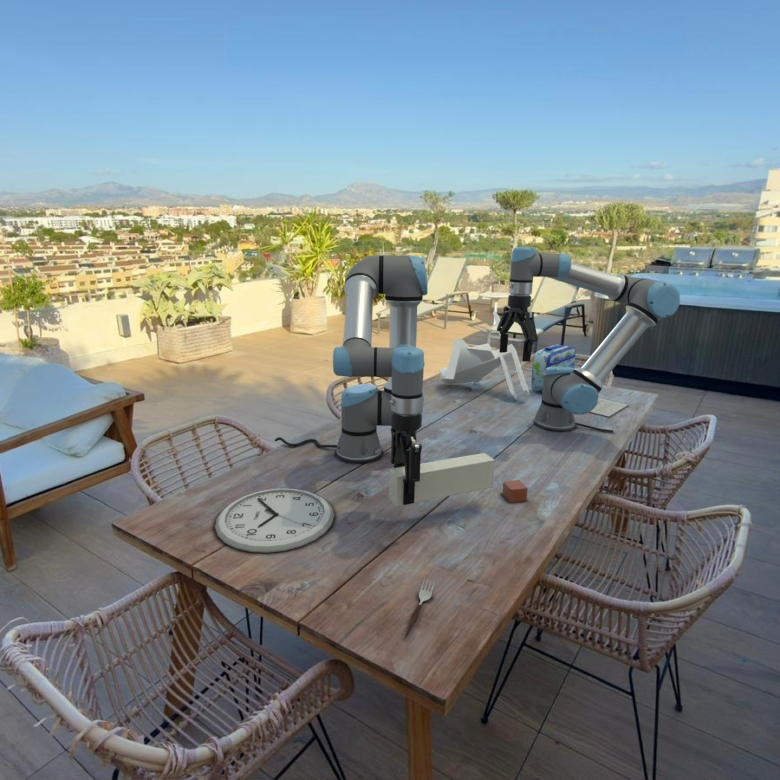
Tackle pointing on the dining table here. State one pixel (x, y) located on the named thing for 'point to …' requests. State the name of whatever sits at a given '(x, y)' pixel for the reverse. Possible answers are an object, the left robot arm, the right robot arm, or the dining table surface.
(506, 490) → the terracotta block
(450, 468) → the beam
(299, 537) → the wall clock
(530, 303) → the right robot arm
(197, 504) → the dining table surface
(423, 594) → the fork
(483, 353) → the white plastic object
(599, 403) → the invitation card
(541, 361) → the lunch box
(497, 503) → the dining table surface
